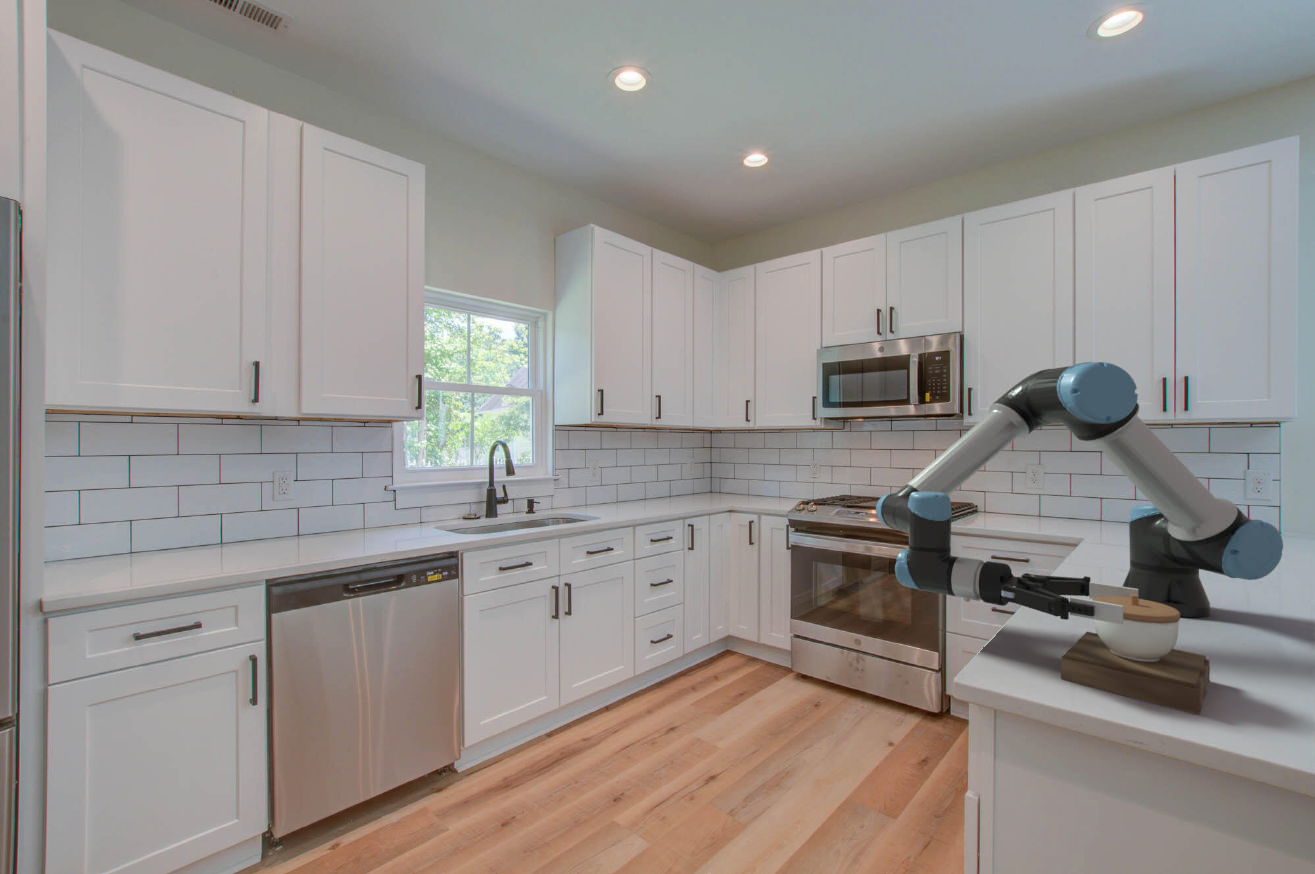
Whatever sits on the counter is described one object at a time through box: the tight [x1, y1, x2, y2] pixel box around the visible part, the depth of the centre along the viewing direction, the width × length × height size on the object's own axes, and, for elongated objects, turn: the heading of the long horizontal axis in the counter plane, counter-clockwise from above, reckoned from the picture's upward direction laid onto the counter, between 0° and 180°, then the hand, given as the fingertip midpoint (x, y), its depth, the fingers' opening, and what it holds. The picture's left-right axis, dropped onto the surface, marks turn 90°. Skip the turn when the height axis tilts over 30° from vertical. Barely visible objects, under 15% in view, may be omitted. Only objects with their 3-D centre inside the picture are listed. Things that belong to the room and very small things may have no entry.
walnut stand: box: [1060, 631, 1211, 715], centre depth 91 cm, size 16×16×4 cm
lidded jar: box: [1092, 594, 1181, 662], centre depth 91 cm, size 11×11×9 cm
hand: (1131, 605), depth 91 cm, fingers open, 13 cm apart
